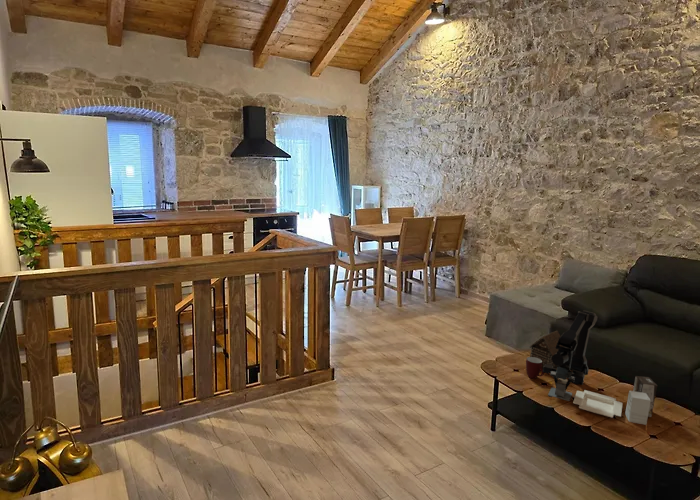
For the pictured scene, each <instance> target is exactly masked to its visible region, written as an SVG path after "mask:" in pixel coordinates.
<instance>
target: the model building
mask: <svg viewBox="0 0 700 500" xmlns="http://www.w3.org/2000/svg"><path fill="white" fill-rule="evenodd" d="M560 336H561V334H560V333H559V331H558V330H555V331H552V332H549V333H548V334H546V335H543V336H542V337H540V338H538V339H537V340H536V341H534V342H533V343H532V344H530V346H529V349H530V348H531V349H530V350H531V351H530V354H529V357H535V358H539V359H541V360H542V367H541V368H542V369H543V367H544V365H545V364H549V365H553V368H555V369H557V366H558V365H555V364H554V363H553V362H552V356H553V355H554V354H556V353H557V351H558V349H556V345H557V342H558V340H559V337H560ZM559 346H561V345H559ZM562 347H564V346H562Z"/></svg>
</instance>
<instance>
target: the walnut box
mask: <svg viewBox="0 0 700 500" xmlns="http://www.w3.org/2000/svg"><path fill="white" fill-rule="evenodd" d="M567 381H568V378H567V379H566V380H563V379H561V378H558V381H557V383H556V385H555V388H556V390H555V395H559V396H562V397H564V395H565V392H566V391H567V389H566V390H565V388H566V384H567Z"/></svg>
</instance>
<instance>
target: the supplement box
mask: <svg viewBox="0 0 700 500" xmlns="http://www.w3.org/2000/svg"><path fill="white" fill-rule="evenodd" d="M650 402H651V400H650V399H649V397H648V395H647V394H646V393H641V392H635V391H633V390H628V396H627V402H626V407H625V413H624V415H625V416H626V419H627V421H628V422H630V423H634V424H640V425H645V426H647V424H648V418H649V417H648V413H649V407H650Z"/></svg>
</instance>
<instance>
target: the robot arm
mask: <svg viewBox="0 0 700 500" xmlns="http://www.w3.org/2000/svg"><path fill="white" fill-rule="evenodd" d="M597 321H598V315H597V314H596V313H595V312H591V311H588V310H582V311H577V313H576V317H575V318H574V320H573V322H572V323H571V325H570V326H569V329H568V330H566V331H564V332H563V333H562V334H560V337H559V340H558V342H557V345H556V349H558V351H557V353H556V354H554V355H553V356H552V362H553V363H554V364H555V365H558V366H557V369H555V368H553V365H549V364H545V365H544V367H543V372H544V374H548V375H549V374H550V375H549V376H550V377H552V378H553V381H554V384H555V386H556V383H557V381H558V379H559V378H561V379H563V380H566V379H567V380H568V381H567V384H566V388H565V390H566V391H567V390H568V387H569V386H570V384H575V385H579V386H583V385H584V382H585V381H584V379H585V376H588V375H589V370H590V369H589V367H588V360H587V358H586V357H587V356H586V352H587V348H588V347H587V346H588V342H589V336H590V334H591V333H590V332H591V329H592V328H593V327H594V326H595V324H596V323H597ZM559 345H561V346H559ZM562 346H564V347H562ZM573 352H575V353H574V354H573Z"/></svg>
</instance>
